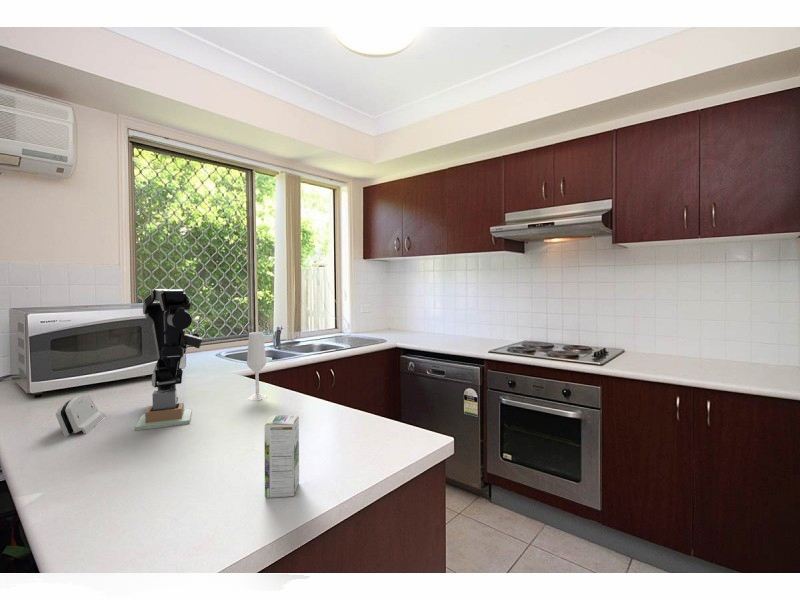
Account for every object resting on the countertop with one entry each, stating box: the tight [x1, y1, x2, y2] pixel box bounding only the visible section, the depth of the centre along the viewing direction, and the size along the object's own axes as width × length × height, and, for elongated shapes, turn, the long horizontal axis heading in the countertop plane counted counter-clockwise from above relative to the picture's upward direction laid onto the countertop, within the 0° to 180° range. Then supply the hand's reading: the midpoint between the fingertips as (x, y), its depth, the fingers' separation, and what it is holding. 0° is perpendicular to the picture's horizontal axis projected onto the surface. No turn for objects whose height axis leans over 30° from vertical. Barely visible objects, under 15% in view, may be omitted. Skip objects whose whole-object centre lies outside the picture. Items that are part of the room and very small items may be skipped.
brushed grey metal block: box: [151, 388, 178, 411], centre depth 127 cm, size 4×6×8 cm, turn 113°
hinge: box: [55, 394, 107, 437], centre depth 123 cm, size 17×5×10 cm, turn 19°
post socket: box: [134, 402, 193, 431], centre depth 127 cm, size 13×14×4 cm
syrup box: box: [264, 414, 300, 499], centre depth 83 cm, size 6×6×14 cm
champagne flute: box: [246, 331, 267, 401], centre depth 152 cm, size 7×7×24 cm
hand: (175, 373), depth 138 cm, fingers open, 9 cm apart
